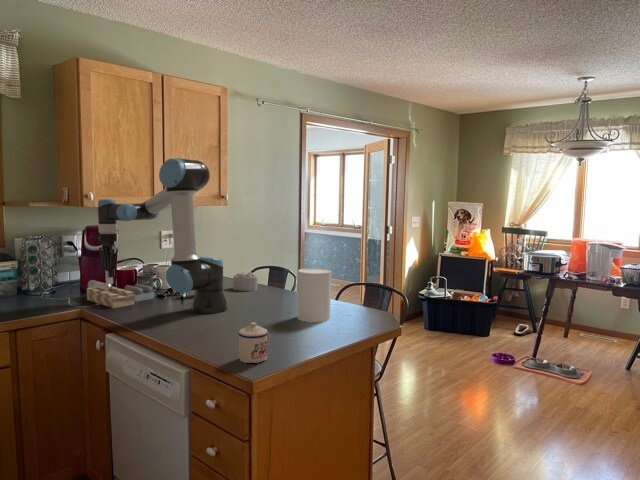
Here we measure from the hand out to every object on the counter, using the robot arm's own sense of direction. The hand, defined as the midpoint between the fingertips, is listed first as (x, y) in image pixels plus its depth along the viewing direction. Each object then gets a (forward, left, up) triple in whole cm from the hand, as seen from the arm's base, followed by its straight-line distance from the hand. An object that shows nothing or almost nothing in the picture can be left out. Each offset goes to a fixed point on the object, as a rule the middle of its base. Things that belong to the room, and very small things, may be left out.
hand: (109, 284), depth 224 cm
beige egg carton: (-1, 0, -8) cm, 8 cm away
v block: (-3, -13, -8) cm, 16 cm away
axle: (+9, 0, -4) cm, 10 cm away
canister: (-88, -42, -9) cm, 98 cm away
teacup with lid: (-106, +8, -9) cm, 106 cm away
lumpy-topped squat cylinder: (-23, -64, -9) cm, 68 cm away
